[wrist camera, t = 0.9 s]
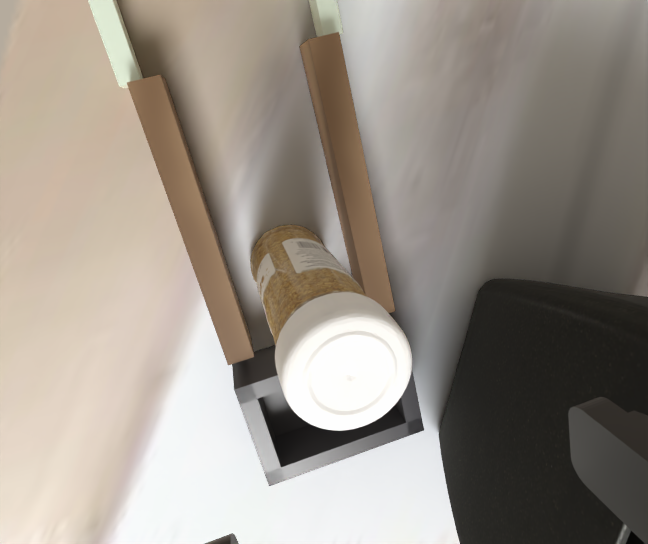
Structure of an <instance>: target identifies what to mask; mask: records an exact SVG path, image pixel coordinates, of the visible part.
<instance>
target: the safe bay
mask: <svg viewBox="0 0 648 544" xmlns="http://www.w3.org/2000/svg"><path fill="white" fill-rule="evenodd" d="M88 2H89V5H90V8H91V10H92V13H93V16H94V19H95V21H96V24H97V27H98V29H99V32H100V35H101V38H102V40H103V43H104V46H105V49H106V51H107V54H108V57H109V60H110V62H111V65H112V68H113V70H114V73H115V76H116V79H117V81H118V84H119V87H122V88H128V85H127V82H131V81H135V80H139V79H143V76H142V73H141V70H140V67H139V64H138V61H137V58H136V56H135V53H134V50H133V47H132V44H131V41H130V38H129V35H128V33H127V30H126V27H125V24H124V21H123V18H122V15H121V12H120V9H119V7H118V4H117V1H116V0H88ZM309 4H310V8H311V13H312V18H313V22H314V27H315V31H316V36H317V37H319V36H324V35H328V34H332V33H336V32H339V35H341V34H343V29H342V23H341V18H340V13H339V8H338V3H337V0H309Z"/></svg>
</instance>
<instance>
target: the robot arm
mask: <svg viewBox="0 0 648 544" xmlns="http://www.w3.org/2000/svg"><path fill="white" fill-rule="evenodd" d="M568 419H569V435H570V451H571V460H572V464H573V467H574V469H575V471H576V473H577V475H578V476H579V478H580V479H581V481H582V482H583V483H584V484H585V485H586V486H587V487H588V488H589V489H590V490H591V491H592V492H593V493H594V494H595V495H596V496H597V497H598V498H599V499H600V500H601V501H602V502H603V503H604V504H605V505H606V506H607V507H608V508H609V509H610V510H611V511H612V512H613V513H614V514H615V515H616V516H617V517H618V518H619V519H620V520H621V521H622V522H623V523H624V524H625V525H626V526H627V527H628V528H629V529H630V530H631V531H632V532H633V533H634V534H635V535H636V536H637V537H638V538H639V539H641V540H642V541H643V542H644V543H645V544H648V416H647V415H645V414H642V413H639V412H637V411H631V412H629V413H627V412H626V411H624V410H623V409H622V408H620V407H619V406H617V405H616V404H615V403H613V402H612V401H610V400H609V399H607V398H604V397H598V398H595V399H593V400H590V401H587V402H585V403H582V404H580V405H577V406H574V407H572V408H570V410H569V413H568ZM205 544H238V541H237V539H236V537H235V535H234V534H233V533H232V534H229V535H227V536H224V537H221V538H219V539H216V540H213V541H211V542H208V543H205Z"/></svg>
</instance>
